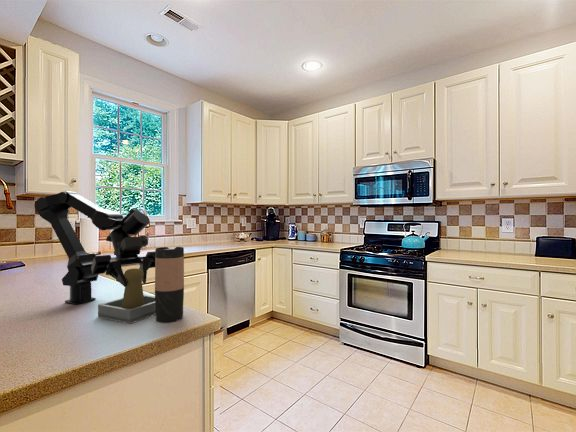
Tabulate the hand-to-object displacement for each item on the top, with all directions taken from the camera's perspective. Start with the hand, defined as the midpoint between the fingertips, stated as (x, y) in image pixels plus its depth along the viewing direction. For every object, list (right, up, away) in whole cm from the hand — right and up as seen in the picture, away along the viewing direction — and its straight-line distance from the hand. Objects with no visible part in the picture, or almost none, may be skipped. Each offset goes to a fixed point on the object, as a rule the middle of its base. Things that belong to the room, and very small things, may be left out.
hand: (135, 284), depth 86 cm
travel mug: (+11, -9, -3) cm, 15 cm away
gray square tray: (-1, -9, +1) cm, 9 cm away
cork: (-1, -7, +1) cm, 7 cm away
